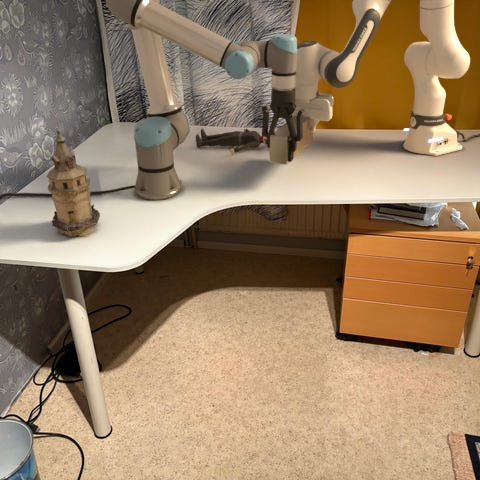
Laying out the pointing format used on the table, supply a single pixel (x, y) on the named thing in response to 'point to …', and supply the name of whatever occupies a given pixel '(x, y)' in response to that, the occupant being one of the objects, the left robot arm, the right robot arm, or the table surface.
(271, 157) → the box
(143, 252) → the table surface
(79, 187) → the miniature building
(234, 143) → the toy
